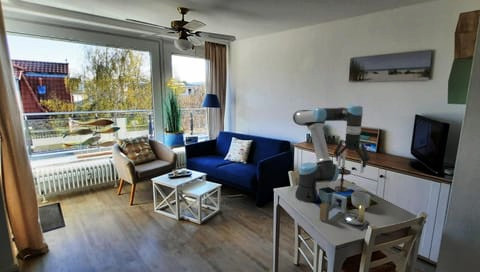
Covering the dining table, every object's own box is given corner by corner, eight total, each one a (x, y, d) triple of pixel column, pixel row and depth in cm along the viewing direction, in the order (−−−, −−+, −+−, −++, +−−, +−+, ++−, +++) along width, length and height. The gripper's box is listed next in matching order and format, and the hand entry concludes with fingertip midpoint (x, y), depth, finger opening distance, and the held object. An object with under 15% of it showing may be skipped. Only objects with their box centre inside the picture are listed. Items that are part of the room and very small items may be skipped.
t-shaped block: (330, 224, 138) (331, 208, 136) (315, 218, 144) (316, 203, 143) (347, 210, 153) (348, 196, 152) (333, 205, 160) (334, 192, 158)
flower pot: (317, 201, 166) (318, 188, 164) (327, 199, 169) (328, 186, 167) (326, 207, 158) (327, 193, 156) (337, 204, 161) (338, 191, 159)
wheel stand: (348, 215, 147) (348, 213, 147) (368, 222, 140) (368, 220, 140) (340, 222, 140) (340, 220, 140) (360, 230, 132) (361, 228, 132)
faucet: (340, 217, 142) (342, 200, 140) (354, 214, 146) (356, 197, 144) (355, 227, 133) (357, 208, 131) (369, 223, 136) (371, 205, 134)
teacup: (371, 211, 152) (372, 199, 151) (352, 210, 154) (353, 197, 153) (365, 201, 165) (366, 190, 164) (347, 200, 168) (348, 188, 166)
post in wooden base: (325, 221, 139) (326, 206, 137) (319, 218, 142) (320, 203, 140) (339, 210, 151) (340, 196, 150) (333, 208, 154) (334, 194, 152)
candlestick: (352, 191, 181) (357, 144, 174) (339, 193, 178) (343, 145, 172) (342, 186, 191) (346, 141, 185) (330, 187, 189) (333, 142, 182)
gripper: (329, 131, 148) (326, 165, 152) (373, 137, 129) (369, 176, 133) (335, 129, 153) (333, 163, 157) (379, 135, 134) (375, 173, 138)
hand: (349, 169), depth 145 cm, fingers open, 13 cm apart
